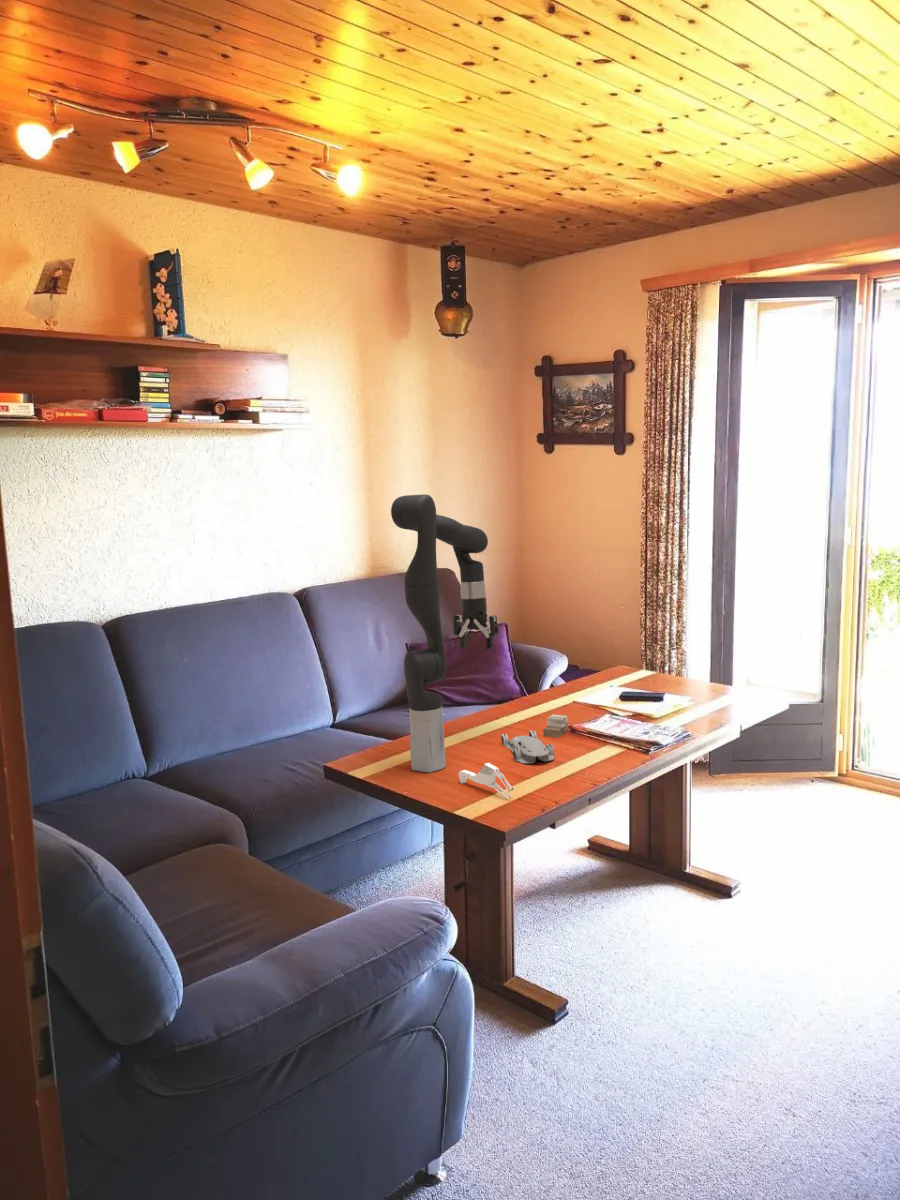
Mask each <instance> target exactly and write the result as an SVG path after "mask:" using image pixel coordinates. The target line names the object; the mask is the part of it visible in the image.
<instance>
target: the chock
mask: <svg viewBox="0 0 900 1200" xmlns="http://www.w3.org/2000/svg"><path fill="white" fill-rule="evenodd" d="M546 721H547V724H546V727H544V728H543V737H547V738H548V737H550V738H555V739H557V738H558V739H559V738H561V737H562V736H564V735H565V734H566V733H568V732H569V723H568V722H569V721H568V716H567V715H561V714H551V715H550V716H548V717H547V718H546Z"/></svg>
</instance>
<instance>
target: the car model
mask: <svg viewBox="0 0 900 1200" xmlns="http://www.w3.org/2000/svg"><path fill="white" fill-rule="evenodd" d="M500 741H501V744H502V746H503V747H506V748H508V749H509V750H510V751H511V752H512V757H513V760H514V761H515V762H518V763H520V764H523V765H530V764H531V765H532V764H535V763H536V762H542V763H547V762H551V761H553V760H554V759H555V748H554V745H553V744H551V743H547V744H546V745H545V744H544V743H543V742H542V741H541V739H540V738H538V736H537V731H536V730H531V729H530V731H529V732H528V735H517V736H514V737H512V738H511V739H509V736H508V734H507V733H501V736H500Z"/></svg>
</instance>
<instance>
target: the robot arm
mask: <svg viewBox="0 0 900 1200" xmlns="http://www.w3.org/2000/svg"><path fill="white" fill-rule="evenodd" d="M390 516H391V519H392V521H393V523H394V524H395V526H396V527H398V528H400V529H403V530H409V531H414V532H417V545H416V550H415V553H414V555H413V557H412V560H411V562H410V564H409V565H408V567H407V569H406V572H405V575H404V595H405V597H404V598H405V603H406V606H407V608H408V609H409V611H410V612H411V614H412V615H413V616H414V618H415V619H416V620H417V622H418V623H419V625H420V626H421V628H422V630H423V632H424V634H425V637H426V642H427V643H426V644H427V648H423V649H422V648H421V649H415V650H412V651H411V650H410V651H408V652H406V654H405V655H404V660H403V668H404V678H405V686H406V696H407V701H408V710H409V724H410V726H409V728H410V737H409V750H410V764H411V765H410V766H411V771H416V772H425V773H428V774H429V773H432V772H433V773H434V772H436V771H440V770H442V769H444V768H446V766H447V763H446V749H445V730H444V729H445V728H444V714H443V711H444V710H443V698H442V695H440V693H436V692H431V691H427V690H425V688H424V684H427V683H433V682H434V683H435V682H438V681H442V680H443V679H444V678H445V676H446V674H447V657H446V651H445V646H444V637H443V633H442V622H441V621H442V620H441V610H440V609H441V608H440V607H441V605H440V588H439V587H440V586H439V578H438V566H437V565H438V562H437V540H439V541H441V542H443V543H445V544H446V545H447V544H448V545H450V546H452V549H453V553H454V555H455V558H456V561H457V563H458V568H459V574H460V575H459V576H460V602H461V612H462V615H461V614H460V613H458V614H455V615H453V634H454V635H455V636H458V637H459V640H460V641H459V643H460V647H461V649H462V650H467V649H468V647H469V646H468V636H467V634H468V632H469V631H472V630H475V631H480V632H481V633H483V634H484V636H485V649H486V651H491V650H492V649H493V647H494V640H493V639H494V636H498V635H499V625H498V619H497V615H496V614H493V615H488V614H487V611H488V605H487V589H486V584H485V576H484V575H485V573H484V565H483V562H481V561H478V560H476V559H472V557H471V555H470V554H481V553H482V552H485V550H486V549H487V547H488V545H489V544H488V542H489V539H488V535H487V534H486V533H485V531H484V530H482V529H480V528H479V527H475V526H471V525H466V524H463V523H461V522H459V521H458V520H455V519H453V518H451V517H448V516H445V515H439V514H437V508H436V504H435V500H434V498H433V497H432V496H431V495H429V494H412V495H411V494H407V495H401V496H399V497H397V498H395V500H393V502H392V505H391V508H390ZM462 622H463V623H464V624H463V626H462ZM487 622H488V623H489V624H487Z"/></svg>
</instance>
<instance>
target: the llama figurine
mask: <svg viewBox="0 0 900 1200" xmlns="http://www.w3.org/2000/svg"><path fill="white" fill-rule="evenodd" d="M496 777H497V778H498V779H499V780H500V781H501V783H502V784H503V786H504V787H505V789H507V791H506V790H505V789H504V788H502V787H501V785H499V784H498V783H497V782H496ZM458 778H459V783H460V784H465V783H467V780H468V779H470V781H472V782H474V783H476V784H482V785H485V786H486V787H488V788H492V789H494V790H495V791H497V792H498V793H499V794H500V795H501V796H503V798H504V799H505V800H508V798H513V796H512V795H511V794H510V793H511V792H513V791H514V790H515V788H514V787H513V786H512V785H511V784H510V783H509V781H508V780H507V779H506V777H505V774H503V773H501V772H500V769H499V767H497V766H495V765H494V764H491V763H490V762H487V763H484V764H483V766H482V768H481V769H480V770H479V772H477V773H476V772H473V771H470V770H467V769H463V770H460V771H459V772H458ZM503 780H504V781H503Z"/></svg>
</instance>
